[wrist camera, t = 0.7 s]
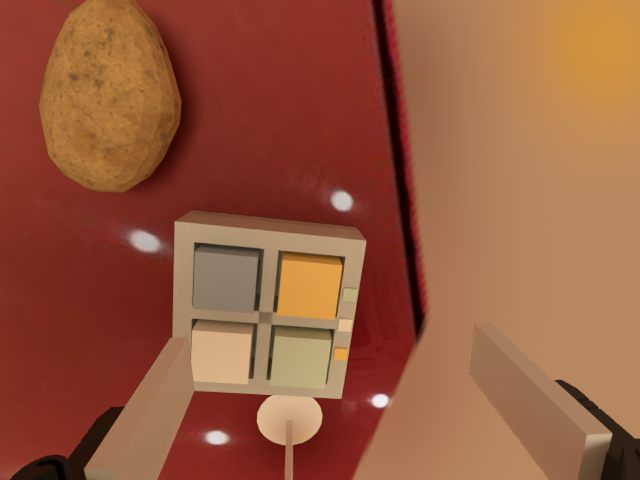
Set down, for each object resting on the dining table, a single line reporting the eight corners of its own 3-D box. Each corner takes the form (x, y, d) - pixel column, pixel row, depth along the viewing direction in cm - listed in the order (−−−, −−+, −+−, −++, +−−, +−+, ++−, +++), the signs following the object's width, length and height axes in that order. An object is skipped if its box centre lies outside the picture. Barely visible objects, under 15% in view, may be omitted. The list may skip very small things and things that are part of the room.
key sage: (271, 368, 34) (269, 385, 32) (276, 321, 33) (274, 336, 31) (322, 371, 35) (324, 388, 32) (328, 325, 34) (331, 340, 31)
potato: (210, 40, 30) (181, 4, 23) (178, 197, 34) (144, 213, 26) (91, 0, 29) (17, -53, 21) (69, 168, 32) (-1, 175, 24)
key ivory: (198, 363, 34) (190, 381, 31) (199, 315, 33) (192, 330, 30) (250, 366, 34) (247, 384, 32) (254, 320, 33) (251, 334, 31)
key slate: (200, 296, 32) (192, 308, 30) (202, 243, 31) (194, 251, 28) (256, 300, 33) (253, 313, 30) (260, 248, 31) (257, 257, 29)
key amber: (278, 302, 33) (276, 315, 30) (283, 250, 31) (282, 259, 29) (331, 306, 33) (334, 319, 31) (338, 256, 32) (342, 265, 29)
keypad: (187, 357, 38) (170, 391, 33) (192, 210, 34) (173, 222, 29) (335, 366, 39) (341, 401, 34) (356, 227, 35) (367, 241, 30)
